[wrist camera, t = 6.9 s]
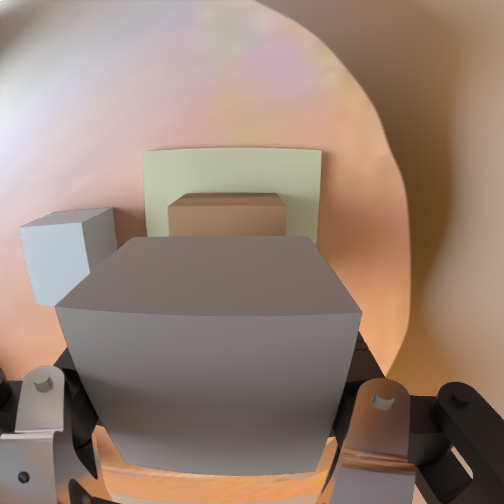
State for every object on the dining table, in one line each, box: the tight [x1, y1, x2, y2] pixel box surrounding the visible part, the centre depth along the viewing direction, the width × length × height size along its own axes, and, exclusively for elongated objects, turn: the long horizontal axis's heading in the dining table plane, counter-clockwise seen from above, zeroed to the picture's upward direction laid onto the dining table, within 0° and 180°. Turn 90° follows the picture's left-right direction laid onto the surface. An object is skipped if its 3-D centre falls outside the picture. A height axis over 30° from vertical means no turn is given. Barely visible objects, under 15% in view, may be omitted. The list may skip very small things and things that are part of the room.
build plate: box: [143, 148, 322, 246], centre depth 21 cm, size 12×12×1 cm
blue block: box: [19, 207, 118, 306], centre depth 19 cm, size 6×6×5 cm
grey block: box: [54, 236, 362, 476], centre depth 8 cm, size 6×6×5 cm
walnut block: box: [168, 193, 287, 236], centre depth 18 cm, size 6×6×5 cm
